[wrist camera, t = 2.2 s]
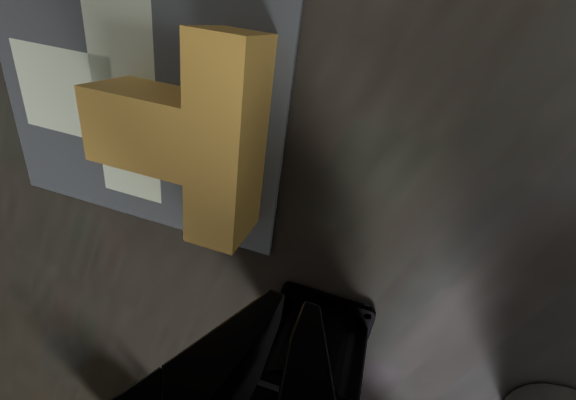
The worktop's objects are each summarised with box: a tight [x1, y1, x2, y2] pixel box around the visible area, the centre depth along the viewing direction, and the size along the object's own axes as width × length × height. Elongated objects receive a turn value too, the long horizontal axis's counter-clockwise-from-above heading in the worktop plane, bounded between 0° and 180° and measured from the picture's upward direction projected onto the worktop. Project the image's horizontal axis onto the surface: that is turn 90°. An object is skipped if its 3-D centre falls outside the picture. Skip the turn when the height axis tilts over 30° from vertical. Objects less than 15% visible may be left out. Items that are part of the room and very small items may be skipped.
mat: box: [0, 0, 304, 256], centre depth 22 cm, size 20×16×1 cm
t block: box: [74, 25, 278, 255], centre depth 19 cm, size 9×11×4 cm
